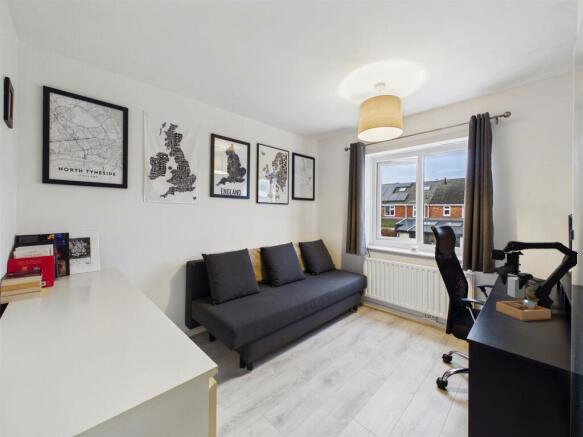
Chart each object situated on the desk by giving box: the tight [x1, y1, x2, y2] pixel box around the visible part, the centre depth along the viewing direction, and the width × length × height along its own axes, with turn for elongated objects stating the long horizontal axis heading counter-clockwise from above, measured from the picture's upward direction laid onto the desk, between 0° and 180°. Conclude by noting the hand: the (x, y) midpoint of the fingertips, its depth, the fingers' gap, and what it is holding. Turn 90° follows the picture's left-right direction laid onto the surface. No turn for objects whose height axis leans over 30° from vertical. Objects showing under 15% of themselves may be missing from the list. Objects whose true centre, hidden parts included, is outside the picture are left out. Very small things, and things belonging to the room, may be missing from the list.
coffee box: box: [524, 276, 546, 305], centre depth 153 cm, size 9×6×16 cm
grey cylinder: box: [522, 299, 535, 311], centre depth 137 cm, size 5×5×7 cm
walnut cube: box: [508, 303, 525, 311], centre depth 136 cm, size 5×5×5 cm
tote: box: [495, 300, 552, 322], centre depth 137 cm, size 18×14×5 cm
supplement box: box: [507, 276, 525, 300], centre depth 166 cm, size 7×7×13 cm
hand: (512, 287), depth 148 cm, fingers open, 9 cm apart
